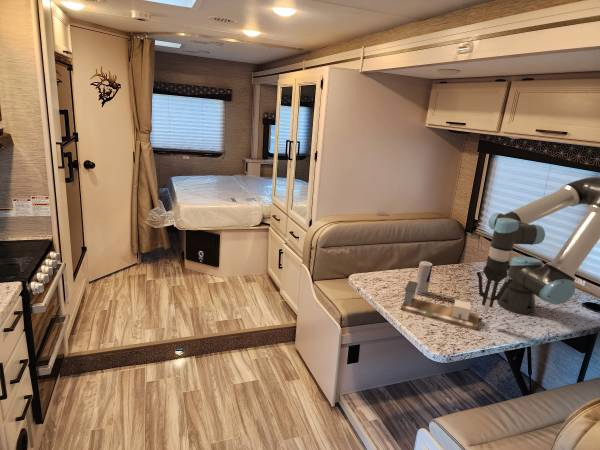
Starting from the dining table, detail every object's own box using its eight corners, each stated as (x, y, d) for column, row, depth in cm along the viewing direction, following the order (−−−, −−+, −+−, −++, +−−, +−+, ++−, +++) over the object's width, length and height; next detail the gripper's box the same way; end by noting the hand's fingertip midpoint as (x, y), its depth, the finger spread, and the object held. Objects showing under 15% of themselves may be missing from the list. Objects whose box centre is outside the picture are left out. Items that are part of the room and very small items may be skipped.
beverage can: (427, 296, 180) (433, 266, 176) (415, 294, 181) (420, 264, 177) (426, 291, 185) (431, 261, 181) (414, 289, 186) (419, 260, 182)
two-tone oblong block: (415, 298, 174) (417, 282, 172) (411, 307, 166) (414, 291, 163) (406, 296, 176) (409, 280, 173) (402, 305, 167) (404, 288, 165)
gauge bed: (478, 317, 165) (478, 314, 164) (477, 330, 154) (478, 327, 154) (406, 298, 176) (406, 295, 176) (400, 309, 166) (401, 306, 165)
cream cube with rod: (468, 313, 164) (470, 303, 162) (467, 324, 155) (469, 312, 154) (453, 310, 166) (455, 299, 164) (451, 319, 158) (453, 308, 156)
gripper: (517, 259, 151) (502, 313, 158) (480, 251, 156) (468, 304, 163) (518, 265, 144) (503, 322, 151) (480, 257, 149) (467, 312, 156)
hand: (485, 313), depth 157 cm, fingers closed
